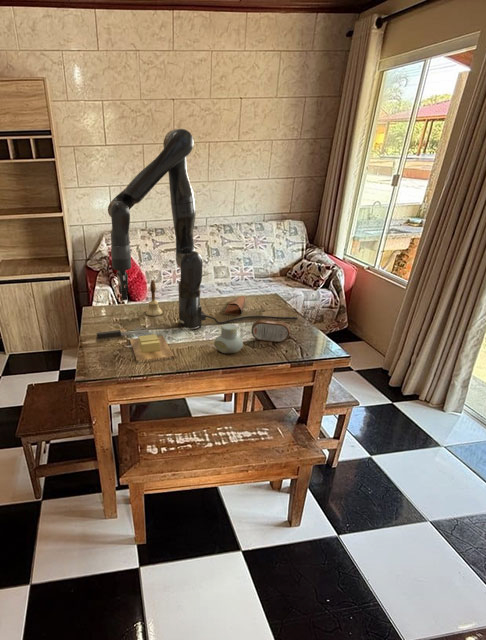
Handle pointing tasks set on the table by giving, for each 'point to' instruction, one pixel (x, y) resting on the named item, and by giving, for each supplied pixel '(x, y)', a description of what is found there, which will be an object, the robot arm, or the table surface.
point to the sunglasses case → (235, 306)
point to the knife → (118, 333)
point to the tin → (270, 330)
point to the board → (163, 352)
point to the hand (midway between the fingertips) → (123, 296)
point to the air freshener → (228, 339)
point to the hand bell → (153, 302)
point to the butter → (147, 338)
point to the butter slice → (150, 346)
